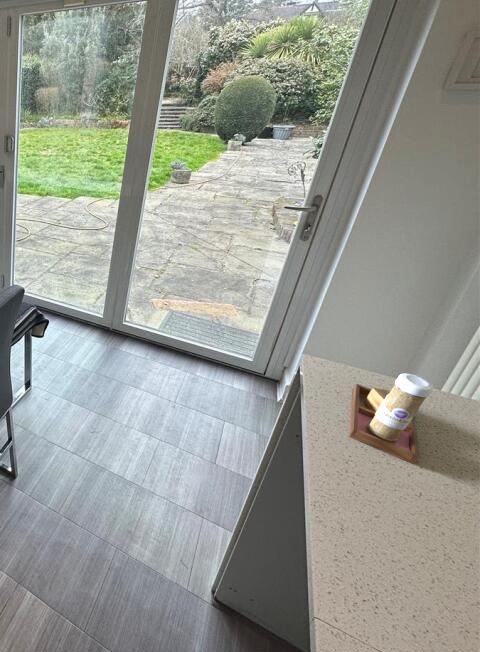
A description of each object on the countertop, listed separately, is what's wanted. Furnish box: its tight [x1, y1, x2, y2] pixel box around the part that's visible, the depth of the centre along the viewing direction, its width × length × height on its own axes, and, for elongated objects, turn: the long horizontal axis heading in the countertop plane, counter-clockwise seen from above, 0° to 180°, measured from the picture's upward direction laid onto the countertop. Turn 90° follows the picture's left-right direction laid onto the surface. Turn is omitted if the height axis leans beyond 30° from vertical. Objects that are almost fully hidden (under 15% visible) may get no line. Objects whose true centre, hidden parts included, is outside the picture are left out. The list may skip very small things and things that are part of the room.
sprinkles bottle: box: [368, 372, 435, 442], centre depth 77 cm, size 5×5×14 cm
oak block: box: [364, 387, 392, 412], centre depth 85 cm, size 4×4×4 cm
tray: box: [348, 383, 420, 465], centre depth 83 cm, size 9×18×2 cm, turn 138°
